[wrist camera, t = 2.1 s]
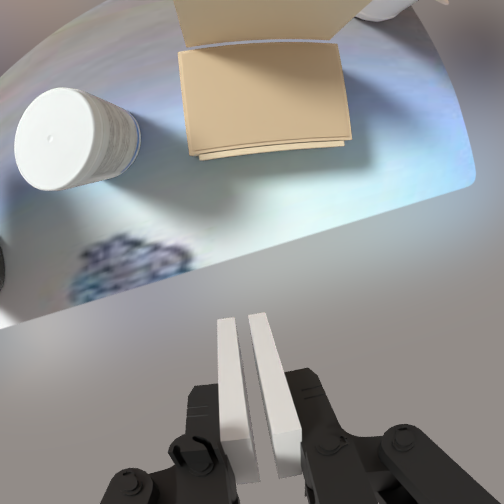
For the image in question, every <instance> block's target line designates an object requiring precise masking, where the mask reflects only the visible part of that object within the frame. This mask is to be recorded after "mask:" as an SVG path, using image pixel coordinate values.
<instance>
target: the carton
mask: <svg viewBox="0 0 504 504" xmlns="http://www.w3.org/2000/svg"><path fill="white" fill-rule="evenodd" d="M178 60H179V71H180V81H181V91H182V100H183V109H184V117H185V126H186V134H187V142H188V149H189V155H190V156H199V159H200V160H201V161H204V160H211V159H217V158H224V157H232V156H240V155H248V154H256V153H265V152H275V151H286V150H298V149H312V148H328V147H338V146H344V141H345V140H352V134H351V125H350V117H349V110H348V103H347V96H346V89H345V83H344V77H343V71H342V66H341V60H340V55H339V50H338V45H337V44H332V43H312V42H270V43H249V44H236V45H226V46H217V47H209V48H201V49H195V50H188V51H182V52H178Z"/></svg>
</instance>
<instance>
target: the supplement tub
mask: <svg viewBox="0 0 504 504" xmlns="http://www.w3.org/2000/svg"><path fill="white" fill-rule="evenodd" d="M140 144H141V133H140V128H139V125H138V123H137V121H136V119H135V118H134V117H133V116H132V115H131V114H130V113H129V112H128V111H126V110H125V109H123V108H120V107H118V106H116V105H114V104H112V103H110V102H107V101H105V100H103V99H101V98H98V97H96V96H94V95H91V94H89V93H87V92H84V91H81V90H77V89H71V88H55V89H51V90H49V91H47V92H45V93H43V94H41V95H40V96H39V97H37V98H36V99H35V100H34V101H33V102H32V103H31V104H30V105H29V107H28V108H27V109H26V111H25V112H24V114H23V116H22V118H21V120H20V122H19V125H18V128H17V132H16V136H15V158H16V163H17V166H18V168H19V171H20V173H21V174H22V176H23V177H24V179H25V180H26V181H27V182H28V183H29V184H30V185H32V186H33V187H35V188H37V189H40V190H44V191H60V190H65V189H69V188H73V187H77V186H81V185H85V184H89V183H94V182H98V181H102V180H106V179H110V178H114V177H116V176H119V175H120V174H122V173H123V172H125V171H126V170H127V169H128V168H129V167H130V166H131V165H132V163H133V162H134V160H135V159H136V157H137V155H138V152H139V149H140Z"/></svg>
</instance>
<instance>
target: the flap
mask: <svg viewBox="0 0 504 504" xmlns="http://www.w3.org/2000/svg"><path fill="white" fill-rule="evenodd" d="M173 1H174V5H175V8H176V12H177V16H178V19H179V23H180V26H181V30H182V33H183V37H184V40H185V44H186V47H192V46H199V45H206V44H214V43H223V42H233V41H245V40H263V39H315V40H330V39H331V38H332V37H333V36H334V35H335V34H336V33H338V32H339V31H340V30H341V29H342V28H343V27H344V26H345V25H346V24H347V23H348V22H349V21H350V20H351V19H352V18H353V17H355V16H356V15H357V14H358V13H359V12H360V11H361V10H362V9H363V8H365V7H366V6H367V5H368V4H369V3H370V2H371V1H372V0H173Z"/></svg>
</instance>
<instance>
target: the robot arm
mask: <svg viewBox="0 0 504 504" xmlns="http://www.w3.org/2000/svg"><path fill="white" fill-rule="evenodd" d="M3 282H4V260H3V255H2V251H1V248H0V290H1V288H2V286H3ZM248 318H249V325H250V331H251V338H252V345H253V351H254V358H255V364H256V369H257V374H258V379H259V385H260V390H261V394H262V400H263V405H264V410H265V415H266V420H267V425H268V430H269V434H270V439H271V444H272V449H273V454H274V458H275V463H276V468H277V473H278V477H279V479H280V478H286V477H291V476H296V475H300V474H302V472H303V475H304V479H305V496H307V498H308V502H309V504H378V502H379V504H501V503H499V502H498V501H497V500H496V499H495V498H494V497H493V496H492V495H491V494H489V493H488V492H487V491H486V490H485V489H484V488H483V487H482V486H481V485H480V484H478V483H477V482H476V481H475V480H474V479H473V478H472V477H471V476H470V475H469V474H468V473H467V472H465V471H464V470H463V469H462V468H461V467H460V466H459V465H458V464H457V463H456V462H454V461H453V460H452V459H451V458H450V457H449V456H448V455H447V454H446V453H445V452H444V451H443V450H442V449H441V448H439V447H438V446H437V445H436V444H435V443H434V442H433V441H432V440H431V439H430V438H429V437H428V436H427V435H426V434H424V433H423V432H422V431H421V430H420V429H419V428H417V427H415V426H412V425H408V424H400V425H396V426H394V427H391V428H390V429H388V430H387V431H386V432H385V433H384V435H383V436H376V437H357V436H354V435H351V434H349V433H347V432H346V431H344V430H343V429H342V428H341V426H340V424H339V423H338V420H337V418H336V416H335V413H334V411H333V409H332V408H331V405H330V402H329V400H328V398H327V396H326V394H325V391H324V389H323V387H322V385H321V382H320V380H319V378H318V376H317V375H316V374H315V373H314V372H313V371H312V370H310V369H309V368H304V369H299V370H294V371H290V372H284V371H283V368H282V364H281V361H280V358H279V355H278V352H277V348H276V345H275V342H274V339H273V336H272V332H271V329H270V326H269V323H268V320H267V316H266V313H258V314H252V315H248ZM217 338H218V339H217V340H218V341H217V342H218V384H209V385H200V386H194V388H193V389H192V391H191V393H190V394H189V396H188V405H187V408H188V409H187V419H186V433H185V434H184V435H182V436H180V437H178V438H176V439H175V440H174V441H173V442H172V444H171V445H170V447H169V450H168V454H169V455H170V457H171V459H172V460H173V462H174V463H175V465H174V466H172V467H170V468H168V469H165V470H162V471H158V472H154V473H150V474H147V473H146V472H145V471H143V470H140V469H138V468H128V469H124V470H121V471H120V472H118V473H117V474H115V476H114V477H113V478H112V480H111V481H110V484H109V486H108V488H107V490H106V492H105V494H104V496H103V499H102V501H101V503H100V504H240V500H239V497H238V494H237V490H236V483H237V485H238V484H247V483H254V482H260V476H259V470H258V463H257V457H256V450H255V444H254V437H253V431H252V425H251V417H250V411H249V404H248V397H247V390H246V383H245V376H244V368H243V362H242V357H241V351H240V345H239V340H238V335H237V328H236V323H235V317H232V318H225V319H218V320H217ZM377 501H378V502H377Z"/></svg>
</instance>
